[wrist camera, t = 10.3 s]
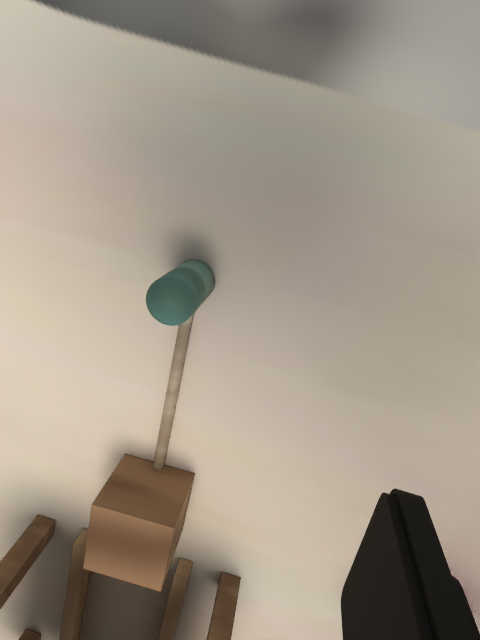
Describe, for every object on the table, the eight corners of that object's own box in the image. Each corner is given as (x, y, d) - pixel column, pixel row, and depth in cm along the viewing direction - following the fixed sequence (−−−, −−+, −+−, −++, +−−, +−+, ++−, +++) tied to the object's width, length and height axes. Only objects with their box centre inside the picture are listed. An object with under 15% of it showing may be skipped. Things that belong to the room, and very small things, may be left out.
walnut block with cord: (182, 530, 31) (160, 591, 27) (116, 511, 32) (83, 568, 27) (240, 270, 25) (225, 290, 20) (157, 250, 25) (123, 265, 21)
